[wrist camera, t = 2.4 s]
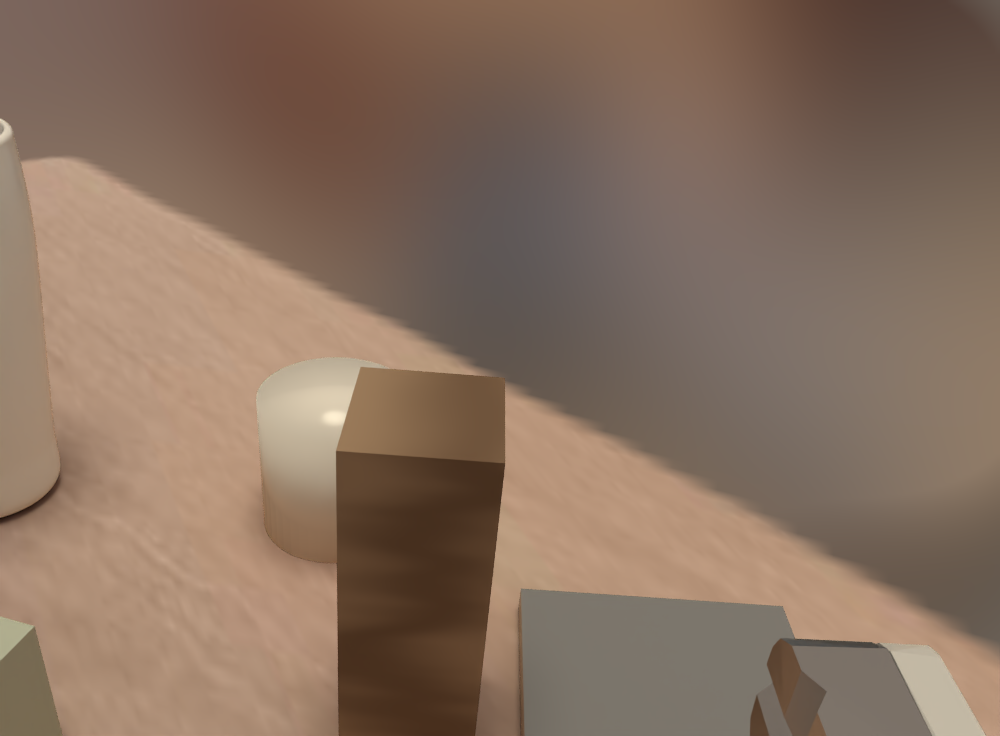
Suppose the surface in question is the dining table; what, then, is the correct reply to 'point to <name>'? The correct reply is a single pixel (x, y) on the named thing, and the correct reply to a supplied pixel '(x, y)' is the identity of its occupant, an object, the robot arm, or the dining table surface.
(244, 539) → the dining table surface
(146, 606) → the dining table surface
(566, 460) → the dining table surface
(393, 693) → the walnut block
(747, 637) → the slate coaster
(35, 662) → the sage box
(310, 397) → the cream domed cylinder
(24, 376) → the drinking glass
